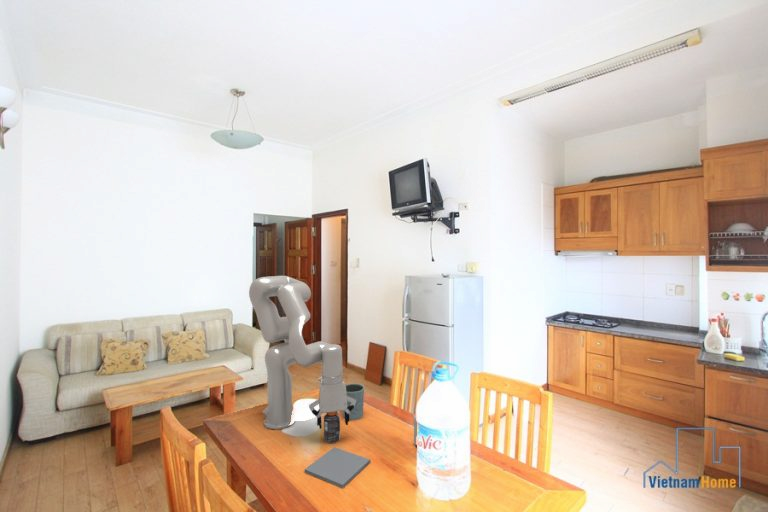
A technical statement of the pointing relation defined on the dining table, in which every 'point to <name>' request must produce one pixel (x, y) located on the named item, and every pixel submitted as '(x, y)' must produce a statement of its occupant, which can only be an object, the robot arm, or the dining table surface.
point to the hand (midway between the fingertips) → (333, 425)
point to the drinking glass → (358, 394)
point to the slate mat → (337, 467)
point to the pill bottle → (332, 427)
